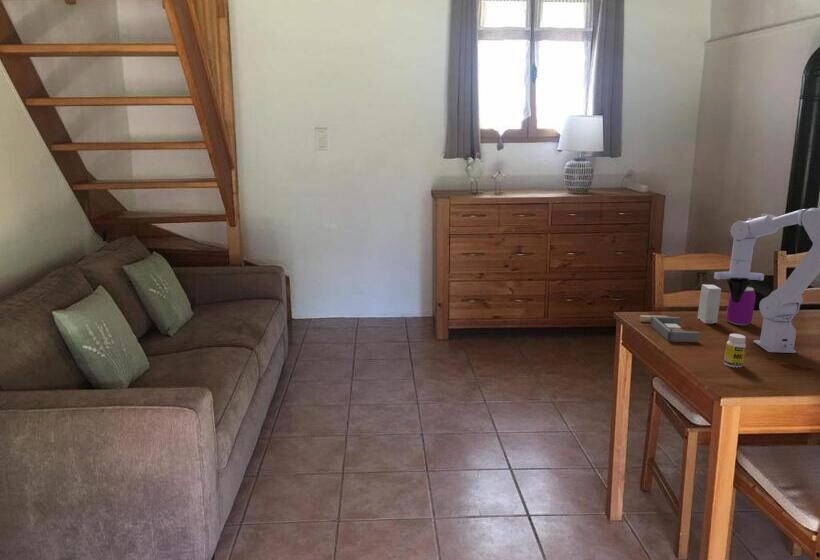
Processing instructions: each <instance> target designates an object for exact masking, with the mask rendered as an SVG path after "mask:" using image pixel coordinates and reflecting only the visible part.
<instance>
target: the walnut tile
mask: <svg viewBox="0 0 820 560" xmlns="http://www.w3.org/2000/svg"><path fill="white" fill-rule="evenodd" d="M670 330H671V331H686V330H685V329H683V328H681V329H670Z"/></svg>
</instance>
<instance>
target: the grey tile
mask: <svg viewBox="0 0 820 560" xmlns="http://www.w3.org/2000/svg"><path fill="white" fill-rule="evenodd" d="M664 325H665V326H666V327H667V328H669V329H682V326H681V325H680V326H679V325H677V324H665V323H664Z"/></svg>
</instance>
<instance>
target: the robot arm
mask: <svg viewBox="0 0 820 560" xmlns="http://www.w3.org/2000/svg"><path fill="white" fill-rule="evenodd" d="M760 215H761V216H759V217H755V218H754V217H749V218H747V220H744V221H743V220H737V221H735V222H734V223H732V225H731V227H730V235H731V237H732V238H733V241H732V242H733V243H732V250H731V255H730V256H731V257H730V264H729V271H714V274H713V279H715V280H726V282H727V285H728V287H729V290H730V292H731V297H732V301H733V302H739V301H740V298H741V296H742V294H743V292H744V291H745V289H746V288H747V287H750V284H751V281H750V280H754V281H755V280H756V281H764V279H765V274H764V273H762V272H751V268H752V267H751V266H752V260H753V255H754V254H753V253H754V252H753V251H754V246H755V245H756V243H757V239H758V238H760V237H763V236H767V235H772V234H776V233H777V232H778V231H779V229H780V228H783V227H784V228H785V227H789V226H794V225H799V226H803V228H804V230H805V232H806V233H807V235H808V237H809V240H811V242H812V243H813V244H812V245H811V247H810V249H809V250H808V251H807V253H806V254H805V255H804V256H803V258H802V259H801V260H800V262H799V263H798V265H797V266H796V267H795V268H794V269H793V271H792V272H791V273H790V275H789V276H788V278H787V279H786V280H785V281H784V282H783V284H782V285H781V286H779V287H778V288H776V289H774V290H773V291H772V292H770V294H769V295H768V296H765V297H764V298H762V299H761V300H760V301H759V305H758V306H759V307H758V309H759V312H760V314H761V316H762V319H763V320H762V325H761V331H760V338H759V340H758V339H757V340H756V339H755V340H753V343H754V344H756V345H757V346H760V347H761V348H762V349H764V350H765V351H766V352H767V353H786V354H787V353H788V354H789V353H790V354H796V353H797V351H796V349H794V348H795V344H796V343H795V342H796V336H797V330H796V327H795V326H794V325H793V324H792V320H793V319H794V317H795V315H797V314H798V312H799V311H800V308H801V304H802V303H803V301H804V298H803V296H802V295H803V294H804V292H805V291H807V288H808V287H809V286H810V285H811V283H812V282H813V281H814V280H815V278H816V277H818V275H819V274H820V208H819V207H818V208H817V207H810V208H803V209H798V210H795V211H792V212H788V213H786V214H783V215H779V216H776V215H774V214H770V213H768V212H767V213H762V214H760Z"/></svg>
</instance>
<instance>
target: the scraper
mask: <svg viewBox="0 0 820 560" xmlns="http://www.w3.org/2000/svg"><path fill="white" fill-rule="evenodd" d="M651 317H669V316H668V315H656V314H655V315H654V314H652V315H650V314H639V316H638V321H639V322H640V323H651Z"/></svg>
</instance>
